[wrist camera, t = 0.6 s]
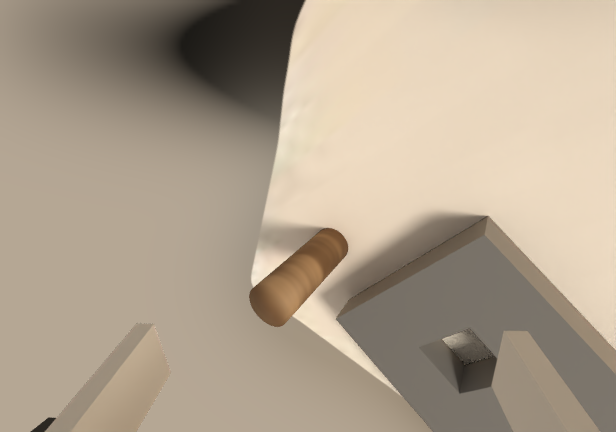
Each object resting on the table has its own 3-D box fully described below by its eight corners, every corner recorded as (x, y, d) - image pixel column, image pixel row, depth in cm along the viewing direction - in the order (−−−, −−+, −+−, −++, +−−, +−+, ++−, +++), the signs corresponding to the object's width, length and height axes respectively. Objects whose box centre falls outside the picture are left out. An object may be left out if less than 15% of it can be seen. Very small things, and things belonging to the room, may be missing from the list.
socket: (488, 216, 28) (484, 234, 25) (654, 391, 27) (671, 434, 23) (349, 299, 41) (335, 318, 38) (455, 421, 39) (450, 451, 36)
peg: (330, 221, 38) (263, 278, 28) (355, 249, 37) (295, 317, 27) (310, 239, 40) (242, 297, 30) (333, 265, 40) (271, 332, 30)
